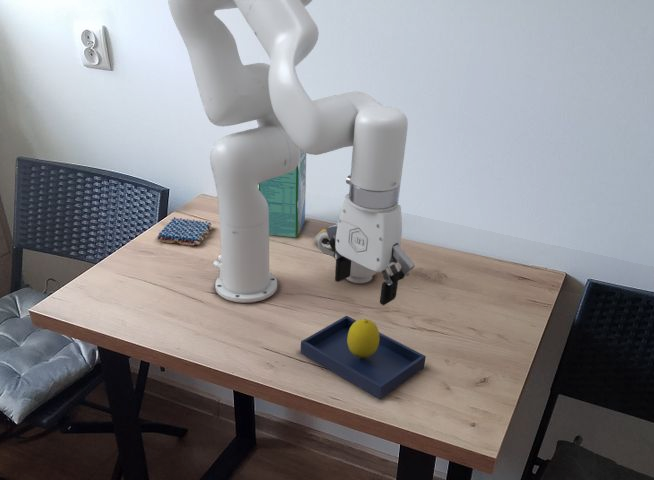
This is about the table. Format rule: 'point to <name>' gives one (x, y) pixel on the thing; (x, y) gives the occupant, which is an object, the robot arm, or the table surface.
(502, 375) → the table surface
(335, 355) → the tray
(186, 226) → the woven mat
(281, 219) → the milk carton
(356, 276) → the teacup
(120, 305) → the table surface
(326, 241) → the pastry
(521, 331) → the table surface
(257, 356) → the table surface
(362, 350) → the lemon
